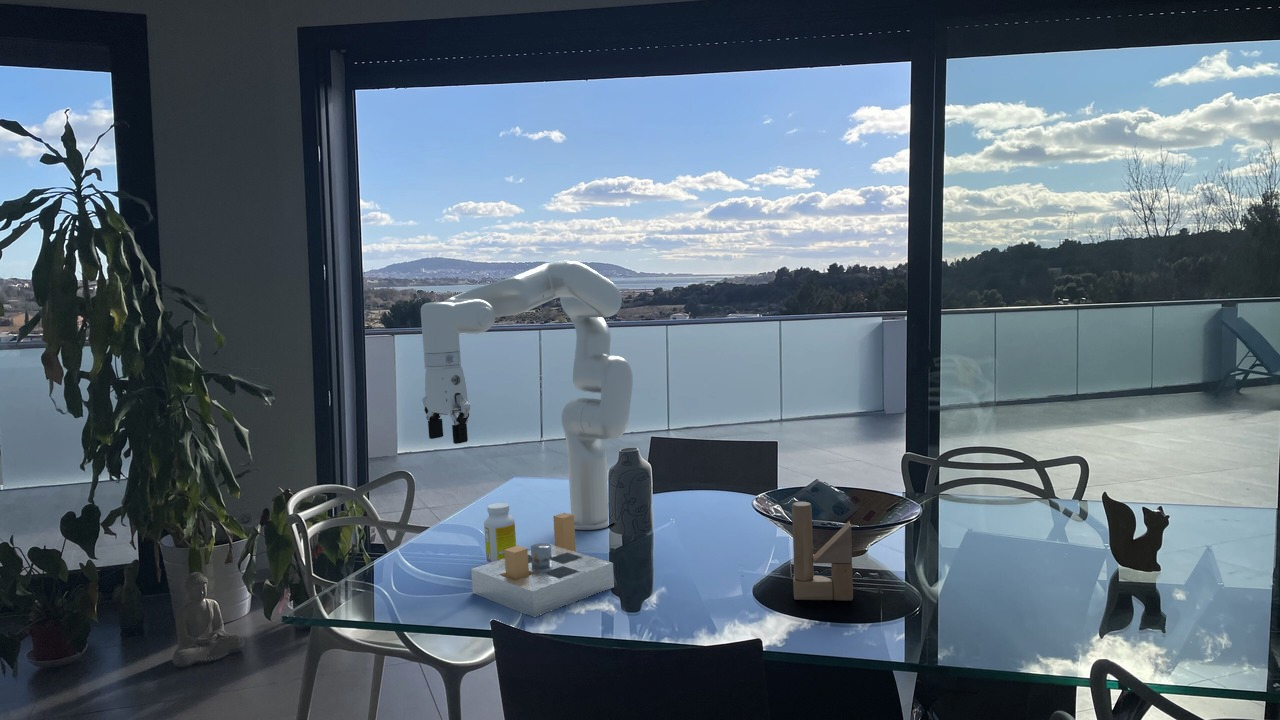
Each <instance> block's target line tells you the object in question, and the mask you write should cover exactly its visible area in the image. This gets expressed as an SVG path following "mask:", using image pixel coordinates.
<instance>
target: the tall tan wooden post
mask: <svg viewBox="0 0 1280 720" xmlns="http://www.w3.org/2000/svg"><path fill="white" fill-rule="evenodd" d="M528 551H529V549H528V548H527V547H523V546H520V545H516V546H514V547H511V548H508V549H505V550H504V553H505V569H506V578H509V579H512V580H514V581H515V580H518V579H521V578H524V577H527V576H529V564H528Z"/></svg>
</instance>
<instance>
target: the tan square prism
mask: <svg viewBox="0 0 1280 720" xmlns="http://www.w3.org/2000/svg"><path fill="white" fill-rule="evenodd" d="M552 518H553V532H554V545H555V546H558V547H561V548H565V549H568V550H571V551H575V552H577V547H576V544H577V543H576V529H575V524H574V515H572V514H571V513H567V512H563V513H558V514H555V515H553V517H552Z"/></svg>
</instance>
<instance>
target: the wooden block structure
mask: <svg viewBox="0 0 1280 720" xmlns="http://www.w3.org/2000/svg"><path fill="white" fill-rule="evenodd" d="M791 509H792V510H791V513H792V515H791V517H792V519H791V520H792V547H793V574H794V575H793V576H792V581H793V585H792V586H793V599H794V600H795V601H796V600H797V601H849V602H851V601H853V599H854V587H853V585H854V583H853V582H854V580H853V579H854V578H853V577H854V576H853V555H852V554H853V550H852V549H853V547H852V543H853V542H852V525H851V521H850V520H848V521H847V522H845V524H844V525H843V526H841V528H839V530H838V531H837V532H836V533H835V534H834V535H833V536H832V537H831V538H830V539H829V540H828V541H826V543H825V544H824V545H823V546H822V547H821V548H820V549H818V550H817V551H816V553H815V554H814V544H813V543H814V542H813V541H814V540H813V514H812V513H813V510H812V509H813V506H812V504H811V503H810V502H807V501H795V502H793V503H792V505H791ZM814 564H831V578H830V577H826V576H823V575H815V573H814Z"/></svg>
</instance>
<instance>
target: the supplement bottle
mask: <svg viewBox="0 0 1280 720" xmlns="http://www.w3.org/2000/svg"><path fill="white" fill-rule="evenodd" d="M509 511H510V504H509V503H507V502H505V503H504V502H497V503H496V502H495V503H492V504H491V503H490V504H488V505H487V513H488V516H487V517H486V518H485V519H484V522H483V527H484V528H483V529H484V543H485V552H486V553H485V555H486V558H485V559H486V564H488V563H491V562H495V561H498V560H501V559H504V558H505V553H504V550H505V549H508V548H511V547H514V546H517V537H516V535H517V534H516V525H515V523H516V522H515V517H513V515H511V514H509Z"/></svg>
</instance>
